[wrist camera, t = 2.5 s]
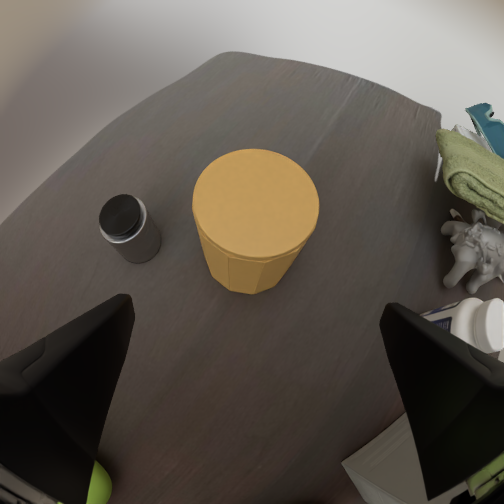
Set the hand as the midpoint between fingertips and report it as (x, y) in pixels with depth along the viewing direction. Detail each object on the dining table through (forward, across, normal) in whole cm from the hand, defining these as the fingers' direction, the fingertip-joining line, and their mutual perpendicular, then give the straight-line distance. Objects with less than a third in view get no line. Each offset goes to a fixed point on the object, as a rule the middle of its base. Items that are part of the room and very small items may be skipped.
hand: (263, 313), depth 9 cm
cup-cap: (+14, 0, +4) cm, 15 cm away
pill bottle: (+8, -18, +10) cm, 22 cm away
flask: (+14, +10, +4) cm, 18 cm away
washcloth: (+14, -28, -5) cm, 31 cm away
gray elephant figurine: (+14, -26, +4) cm, 30 cm away
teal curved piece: (+22, -40, -13) cm, 47 cm away
